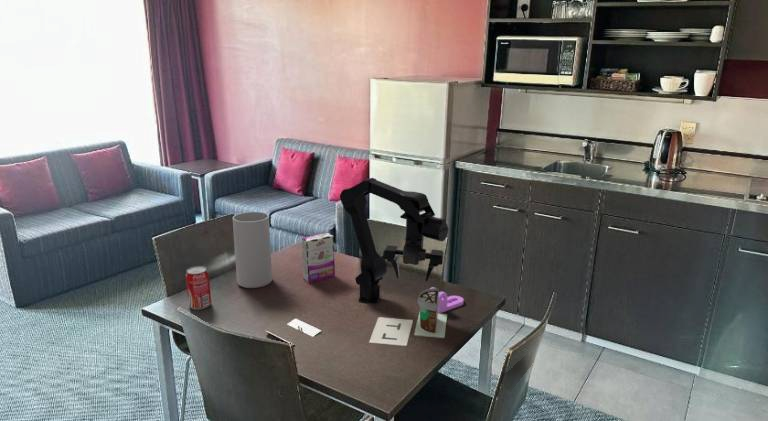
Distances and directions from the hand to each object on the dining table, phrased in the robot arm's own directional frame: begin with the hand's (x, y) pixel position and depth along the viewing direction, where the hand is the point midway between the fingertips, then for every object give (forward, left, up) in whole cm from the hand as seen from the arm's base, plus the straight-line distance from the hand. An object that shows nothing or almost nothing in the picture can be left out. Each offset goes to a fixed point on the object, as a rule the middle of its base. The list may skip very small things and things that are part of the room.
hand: (412, 279), depth 174 cm
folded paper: (-33, -20, -12) cm, 41 cm away
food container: (+6, -8, -11) cm, 15 cm away
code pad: (-4, -13, -12) cm, 18 cm away
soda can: (-69, -8, -12) cm, 71 cm away
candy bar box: (-37, +22, -12) cm, 45 cm away
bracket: (+11, +7, -12) cm, 18 cm away
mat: (+7, -7, -12) cm, 15 cm away
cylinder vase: (-59, +14, -12) cm, 62 cm away
